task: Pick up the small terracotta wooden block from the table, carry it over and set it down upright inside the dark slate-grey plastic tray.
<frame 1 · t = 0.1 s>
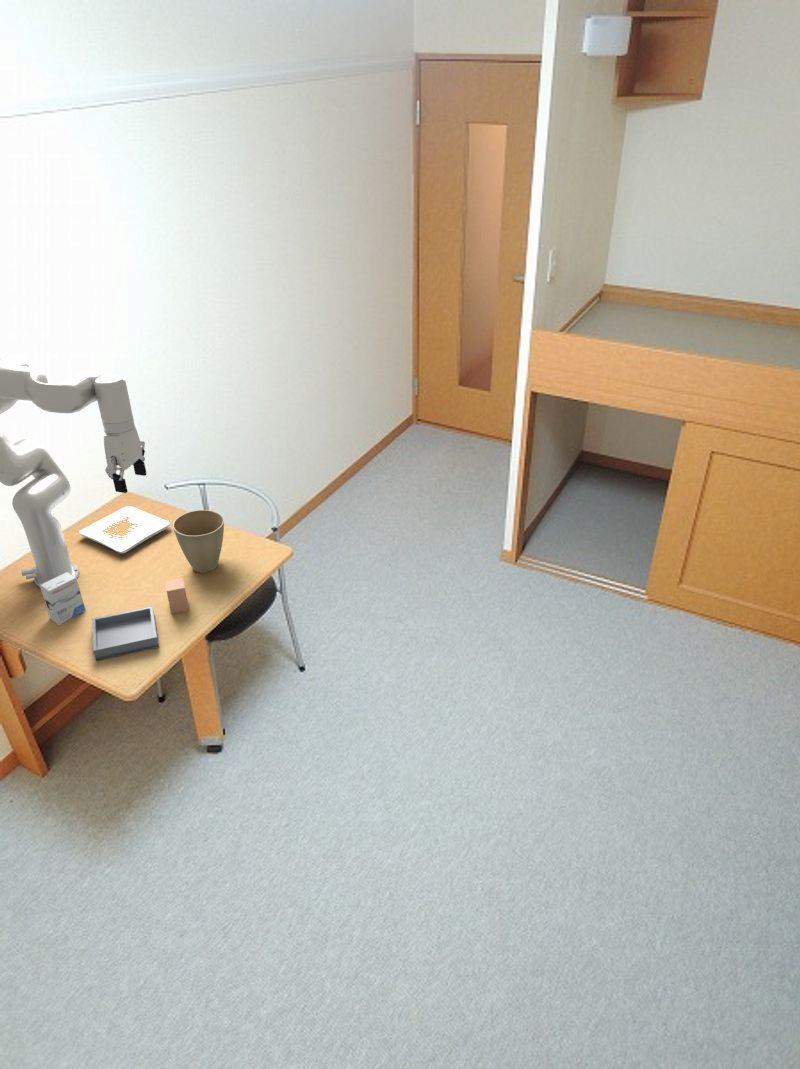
hand: (131, 483, 200), 37 cm above the table, tool pointing down, fingers open, 9 cm apart
salad plate: (127, 535, 248), on the table
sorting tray: (126, 637, 204), on the table
terracotta block: (179, 606, 216), on the table
ink box: (68, 615, 212), on the table
plant pot: (205, 566, 233), on the table
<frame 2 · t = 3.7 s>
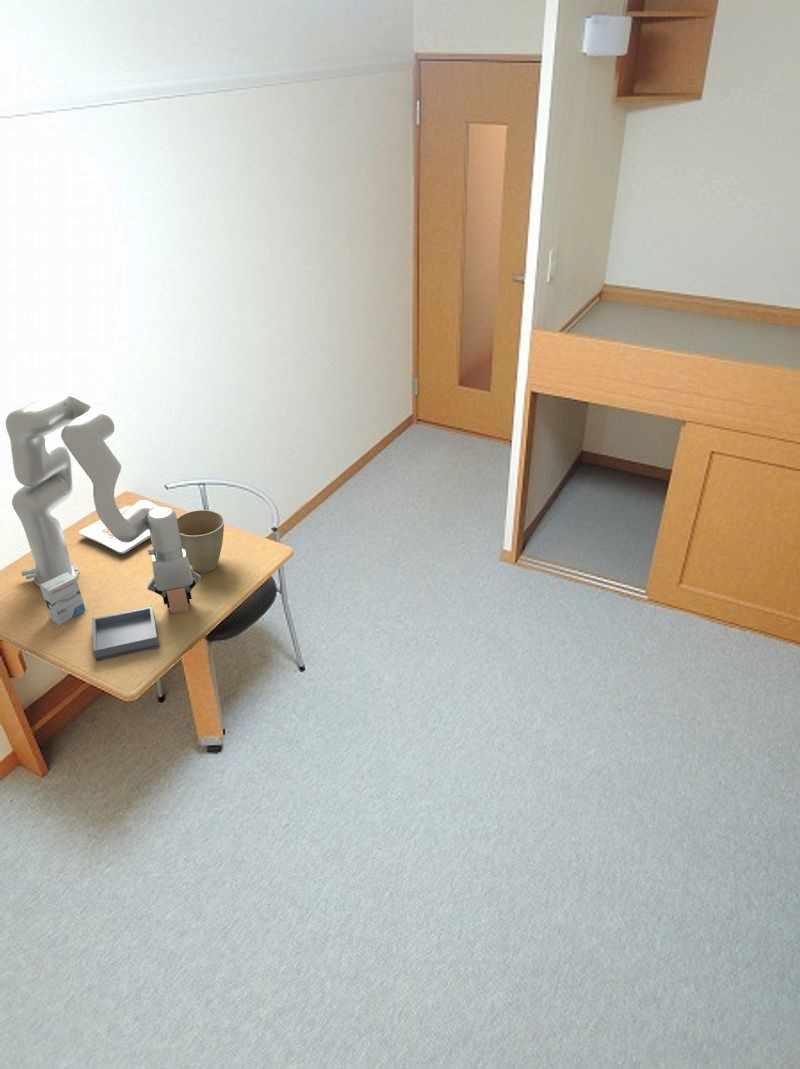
hand: (178, 602, 215), 1 cm above the table, tool pointing down, fingers closed on terracotta block, 5 cm apart
terracotta block: (179, 606, 216), on the table, touching gripper
everything else where it was.
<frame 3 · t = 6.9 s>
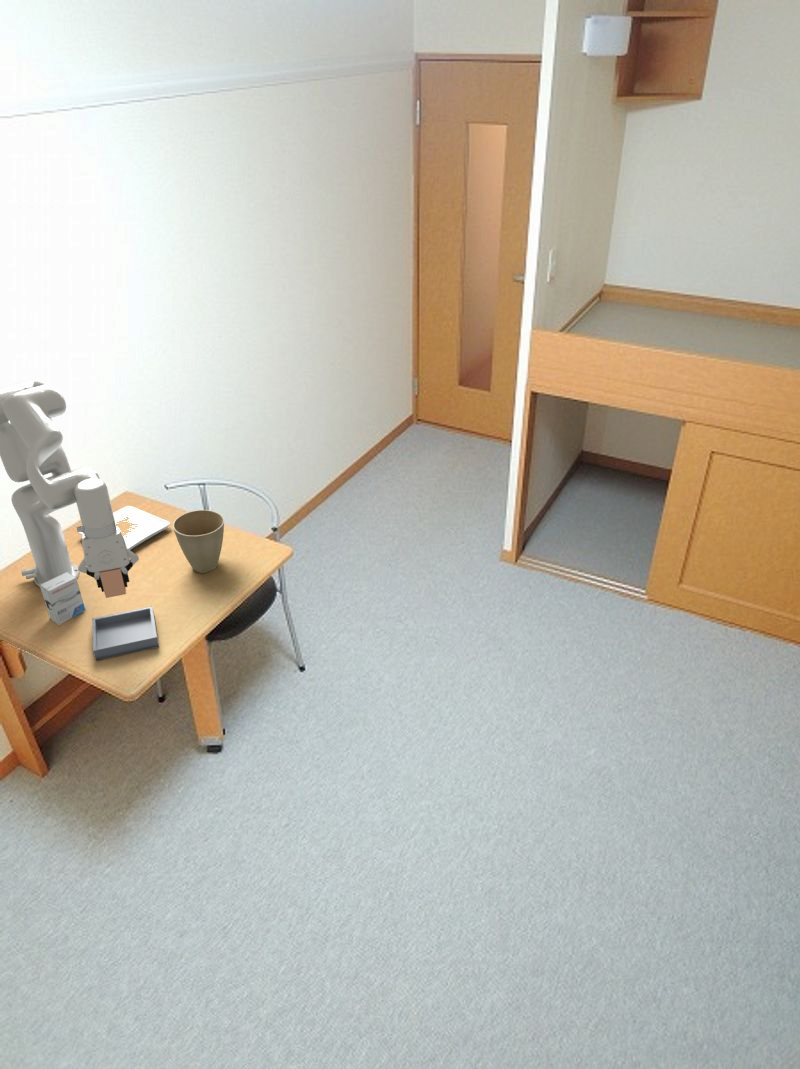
hand: (114, 585, 195), 17 cm above the table, tool pointing down, fingers closed on terracotta block, 5 cm apart
terracotta block: (115, 590, 196), point 16 cm above the table, touching gripper
everything else where it was.
when the fingers open (4 cm above the table, at t = 9.9 s): terracotta block drops 1 cm, resting on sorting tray.
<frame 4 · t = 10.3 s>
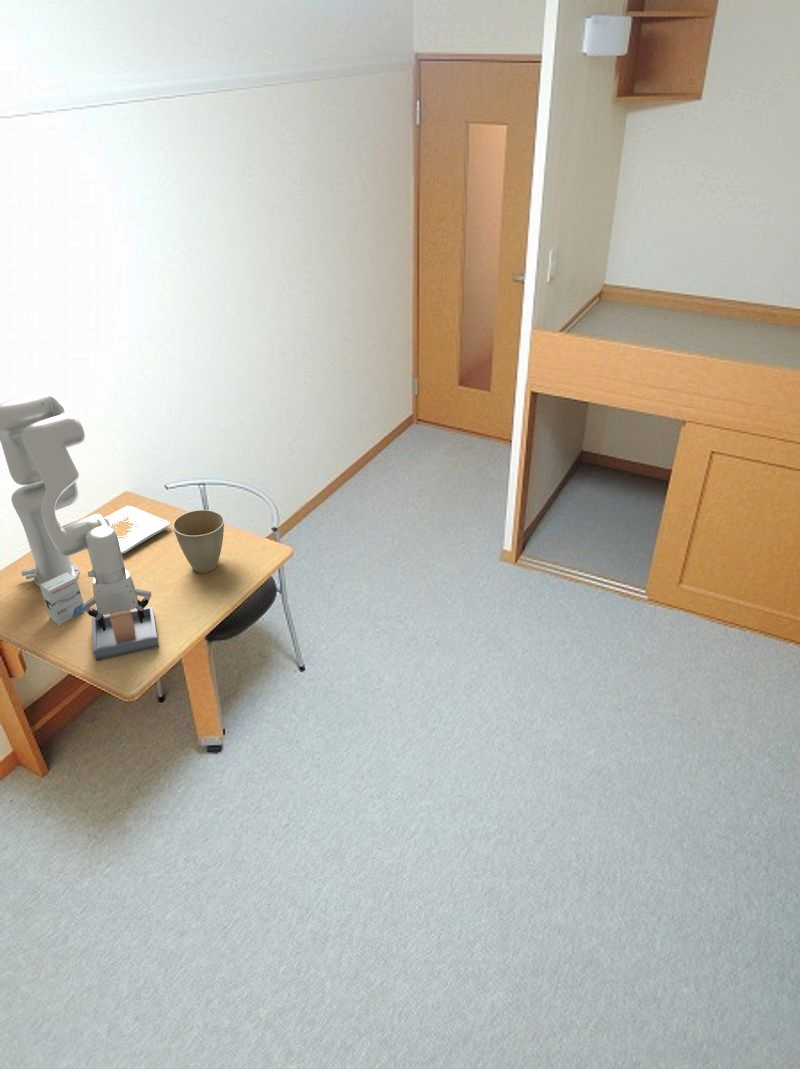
hand: (123, 623, 201), 5 cm above the table, tool pointing down, fingers open, 9 cm apart
terracotta block: (125, 634, 203), point 1 cm above the table, touching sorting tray
everything else where it was.
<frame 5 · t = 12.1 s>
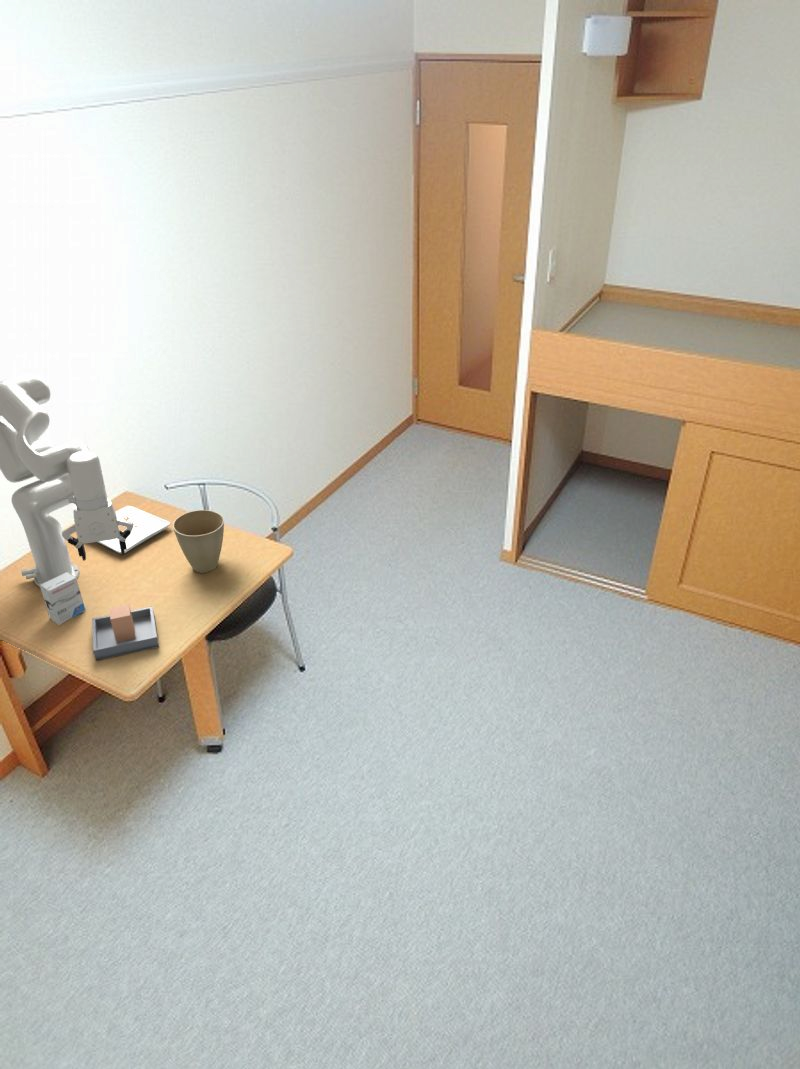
hand: (103, 554, 198), 22 cm above the table, tool pointing down, fingers open, 9 cm apart
nothing on the table moved.
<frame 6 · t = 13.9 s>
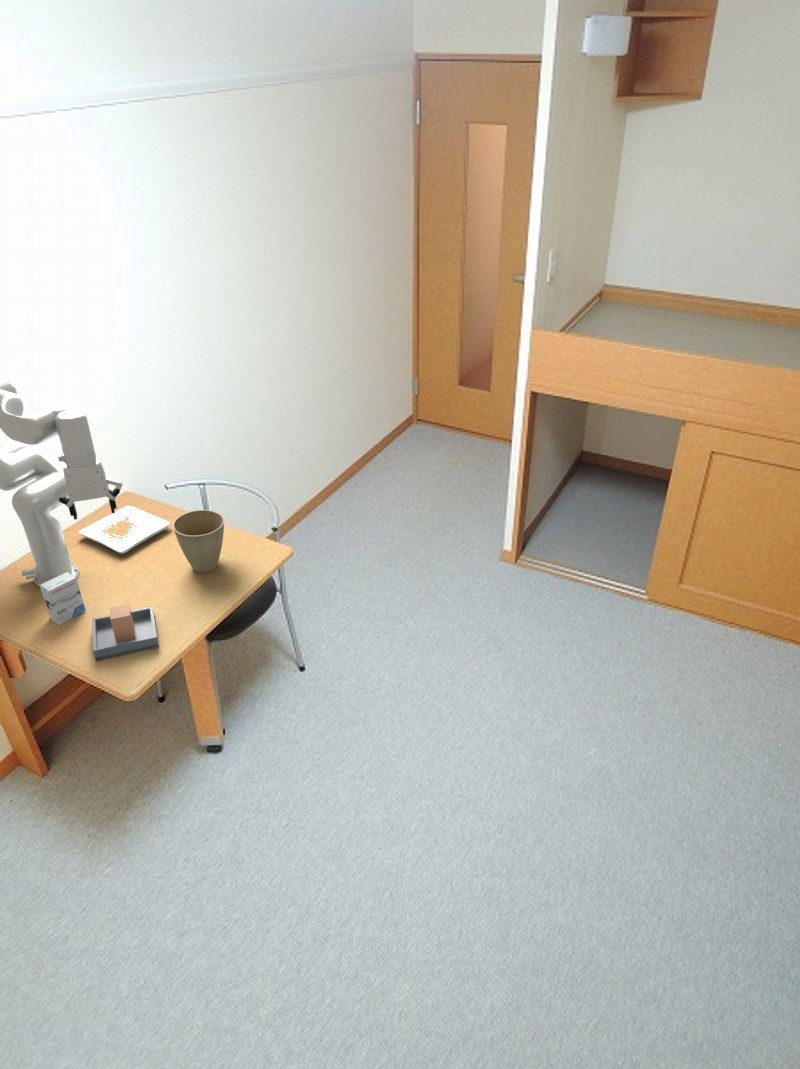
hand: (94, 514, 204), 28 cm above the table, tool pointing down, fingers open, 9 cm apart
nothing on the table moved.
at the end: terracotta block inside the target area on the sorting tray (0.0 cm from its centre), point 1.0 cm above the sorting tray's base; terracotta block tilted 0°; the gripper is holding nothing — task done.
